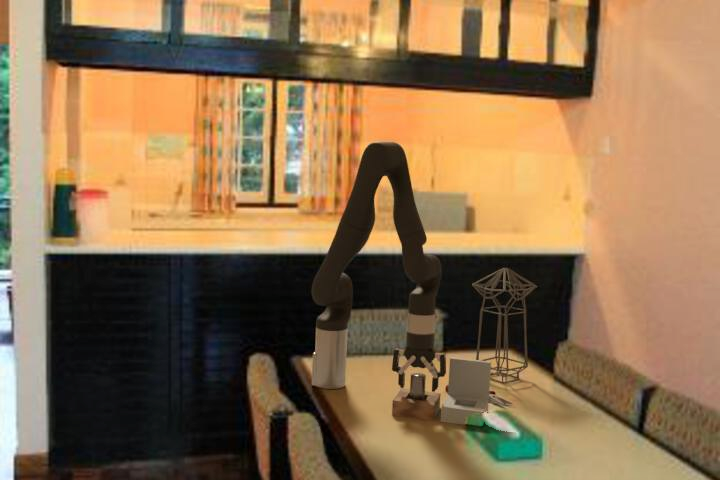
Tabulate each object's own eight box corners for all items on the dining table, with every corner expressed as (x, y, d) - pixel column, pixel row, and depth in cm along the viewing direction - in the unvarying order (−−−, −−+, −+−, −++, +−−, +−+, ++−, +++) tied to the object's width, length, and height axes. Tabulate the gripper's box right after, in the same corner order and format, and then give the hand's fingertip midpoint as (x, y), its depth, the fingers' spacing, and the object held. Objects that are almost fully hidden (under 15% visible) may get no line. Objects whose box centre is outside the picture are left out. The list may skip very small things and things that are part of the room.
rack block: (440, 421, 200) (443, 369, 198) (447, 406, 212) (450, 357, 210) (483, 427, 197) (486, 374, 195) (487, 411, 209) (491, 361, 207)
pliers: (495, 412, 210) (495, 403, 209) (443, 392, 225) (443, 384, 225) (522, 405, 217) (523, 396, 217) (470, 386, 232) (470, 378, 232)
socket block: (391, 415, 203) (392, 400, 202) (400, 402, 213) (401, 388, 213) (433, 420, 200) (433, 405, 200) (439, 407, 211) (440, 393, 210)
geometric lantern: (503, 388, 230) (508, 273, 227) (465, 376, 242) (469, 266, 239) (537, 380, 240) (542, 269, 236) (498, 368, 252) (502, 263, 249)
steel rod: (407, 412, 205) (409, 376, 204) (410, 407, 209) (412, 372, 208) (422, 414, 204) (424, 378, 203) (424, 409, 208) (426, 373, 207)
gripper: (391, 330, 202) (389, 390, 204) (445, 335, 199) (442, 396, 201) (397, 324, 210) (395, 382, 211) (449, 329, 206) (446, 388, 208)
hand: (418, 389), depth 206 cm, fingers open, 8 cm apart
